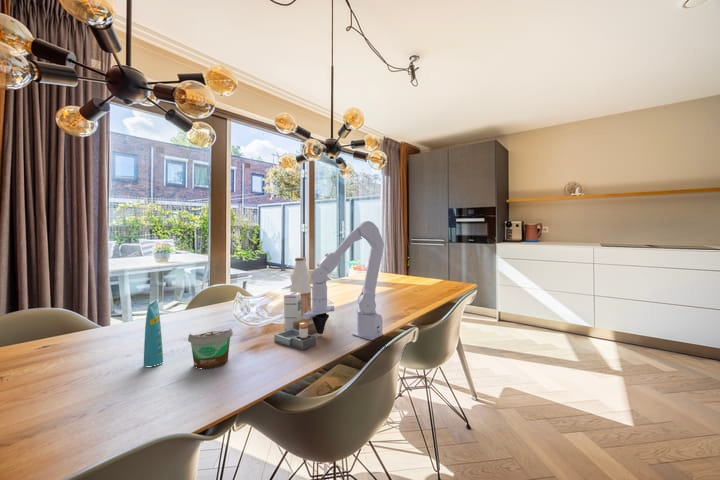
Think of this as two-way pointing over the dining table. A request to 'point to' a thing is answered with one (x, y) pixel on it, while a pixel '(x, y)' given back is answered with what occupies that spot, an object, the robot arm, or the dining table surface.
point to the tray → (286, 336)
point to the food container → (210, 348)
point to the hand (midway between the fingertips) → (319, 333)
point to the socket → (303, 342)
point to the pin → (303, 330)
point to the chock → (310, 325)
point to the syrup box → (292, 309)
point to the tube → (153, 336)
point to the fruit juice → (302, 284)
